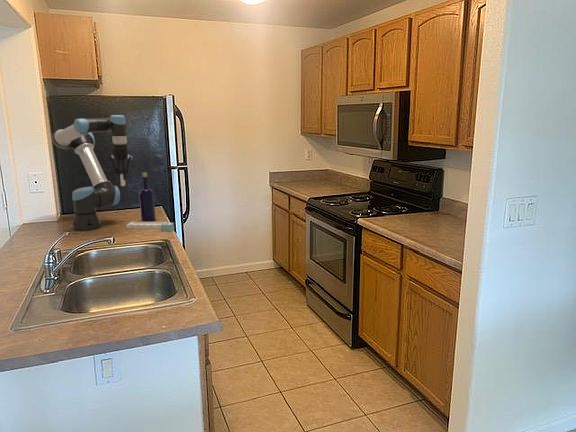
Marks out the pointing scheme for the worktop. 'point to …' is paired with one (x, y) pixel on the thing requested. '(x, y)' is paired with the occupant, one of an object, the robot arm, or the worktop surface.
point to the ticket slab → (145, 225)
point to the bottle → (147, 202)
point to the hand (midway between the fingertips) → (123, 185)
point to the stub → (167, 226)
